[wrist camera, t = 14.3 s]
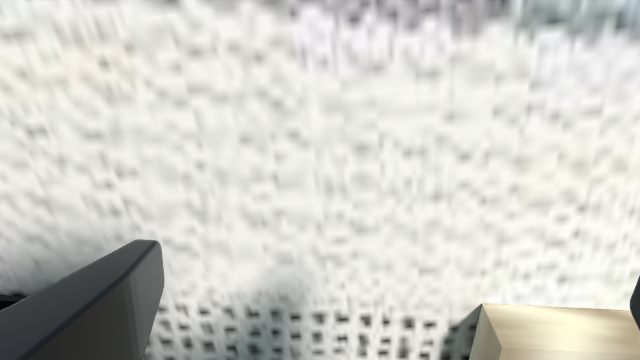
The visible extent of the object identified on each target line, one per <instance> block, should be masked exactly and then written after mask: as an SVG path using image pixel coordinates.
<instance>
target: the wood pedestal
mask: <svg viewBox="0 0 640 360" xmlns="http://www.w3.org/2000/svg"><path fill="white" fill-rule="evenodd" d="M469 360H640V331H639V329H638V326H637V324H636V322H635V320H634V318H633V316H632V314H631V311H624V310H603V309H582V308H562V307H541V306H520V305H500V304H482V307H481V311H480V315H479V319H478V324H477V328H476V332H475V336H474V340H473V345H472V349H471V353H470V357H469Z"/></svg>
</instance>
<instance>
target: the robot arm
mask: <svg viewBox="0 0 640 360" xmlns="http://www.w3.org/2000/svg"><path fill="white" fill-rule="evenodd" d="M163 288H164V270H163V260H162V249H161V245H160V243H159V242H158V241H156V240H135V241H133V242H131V243H129V244H127V245H125V246H123V247H121V248H119V249H118V250H116V251H114V252H112V253H110V254H108V255H106V256H104V257H102V258H100V259H99V260H97V261H95V262H93V263H91V264H89V265H87V266H85V267H83V268H82V269H80V270H78V271H76V272H74V273H72V274H70V275H68V276H66V277H64V278H63V279H61V280H59V281H57V282H55V283H53V284H51V285H49V286H47V287H46V288H44V289H42V290H40V291H38V292H36V293H34V294H32V295H30V296H7V295H0V360H142V359H143V356H144V353H145V349H146V346H147V343H148V339H149V336H150V333H151V329H152V326H153V323H154V319H155V316H156V313H157V309H158V306H159V303H160V299H161V296H162V292H163ZM630 310H631V314H632V316H633V318H634V320H635V322H636V324H637V326H638V329H639V331H640V276H639V279H638V281H637V284H636V286H635V289H634V292H633V294H632V297H631V300H630Z"/></svg>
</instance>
